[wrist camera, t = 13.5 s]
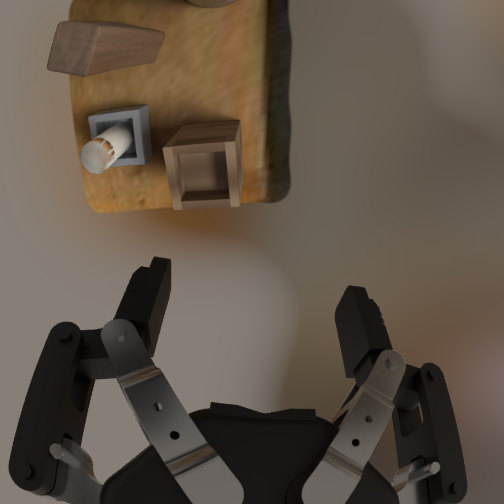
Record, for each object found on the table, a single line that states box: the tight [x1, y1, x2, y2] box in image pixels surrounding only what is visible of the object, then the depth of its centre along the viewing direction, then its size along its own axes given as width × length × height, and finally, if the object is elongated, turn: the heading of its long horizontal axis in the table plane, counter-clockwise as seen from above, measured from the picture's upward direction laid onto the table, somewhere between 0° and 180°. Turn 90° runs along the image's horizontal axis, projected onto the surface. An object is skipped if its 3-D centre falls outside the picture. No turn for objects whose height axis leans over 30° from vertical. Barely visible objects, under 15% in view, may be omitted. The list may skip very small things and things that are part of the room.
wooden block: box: [47, 21, 165, 77], centre depth 23 cm, size 9×4×18 cm, turn 67°
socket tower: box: [163, 120, 244, 210], centre depth 36 cm, size 8×8×10 cm
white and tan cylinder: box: [80, 122, 135, 174], centre depth 33 cm, size 4×4×9 cm
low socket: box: [88, 105, 153, 167], centre depth 36 cm, size 8×8×4 cm
